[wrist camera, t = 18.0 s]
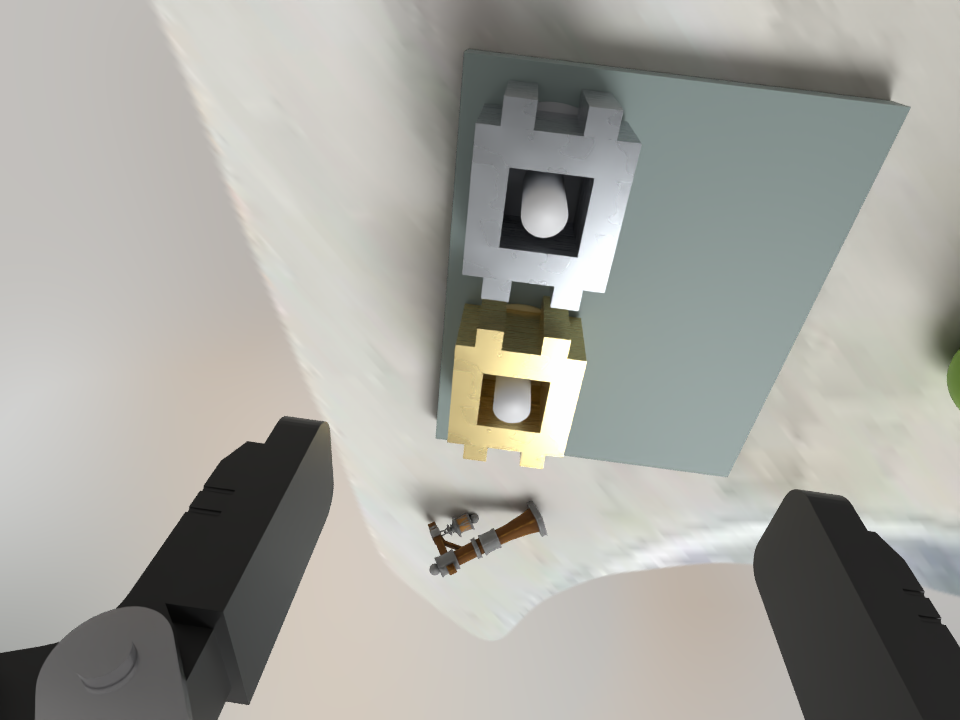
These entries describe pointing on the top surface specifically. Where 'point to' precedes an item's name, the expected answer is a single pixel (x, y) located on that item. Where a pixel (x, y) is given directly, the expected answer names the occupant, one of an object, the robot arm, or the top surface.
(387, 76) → the top surface
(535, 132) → the grey hollow block
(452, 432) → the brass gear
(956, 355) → the snail figurine
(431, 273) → the top surface
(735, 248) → the gear board
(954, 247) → the top surface
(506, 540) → the brown grey angled piece
